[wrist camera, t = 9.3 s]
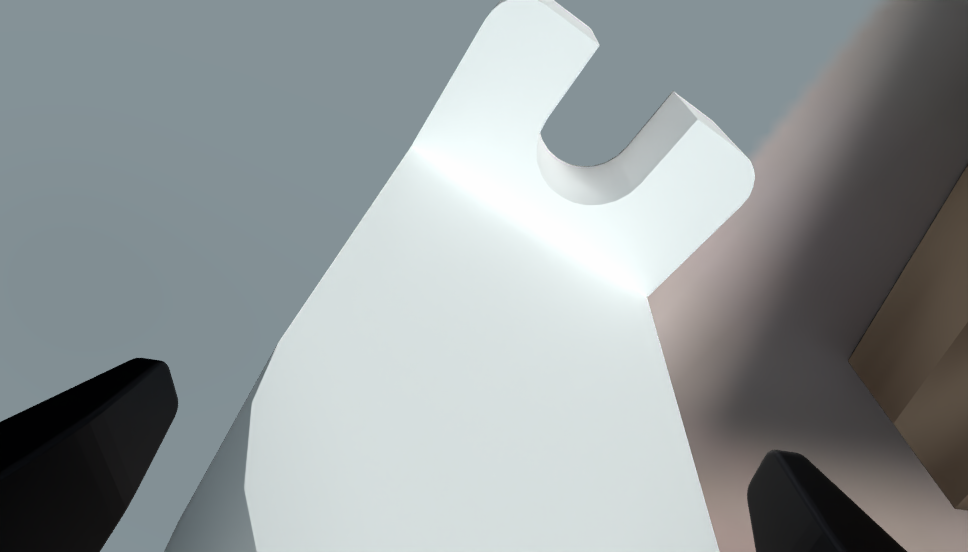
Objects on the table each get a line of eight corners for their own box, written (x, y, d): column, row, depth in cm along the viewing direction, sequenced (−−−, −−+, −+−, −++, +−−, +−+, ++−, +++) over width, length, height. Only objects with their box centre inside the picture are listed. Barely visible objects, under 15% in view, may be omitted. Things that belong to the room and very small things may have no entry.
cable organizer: (736, 138, 11) (1511, 924, 2) (472, 417, 15) (382, 995, 7) (516, -29, 9) (242, 203, 1) (305, 329, 14) (-46, 890, 6)
